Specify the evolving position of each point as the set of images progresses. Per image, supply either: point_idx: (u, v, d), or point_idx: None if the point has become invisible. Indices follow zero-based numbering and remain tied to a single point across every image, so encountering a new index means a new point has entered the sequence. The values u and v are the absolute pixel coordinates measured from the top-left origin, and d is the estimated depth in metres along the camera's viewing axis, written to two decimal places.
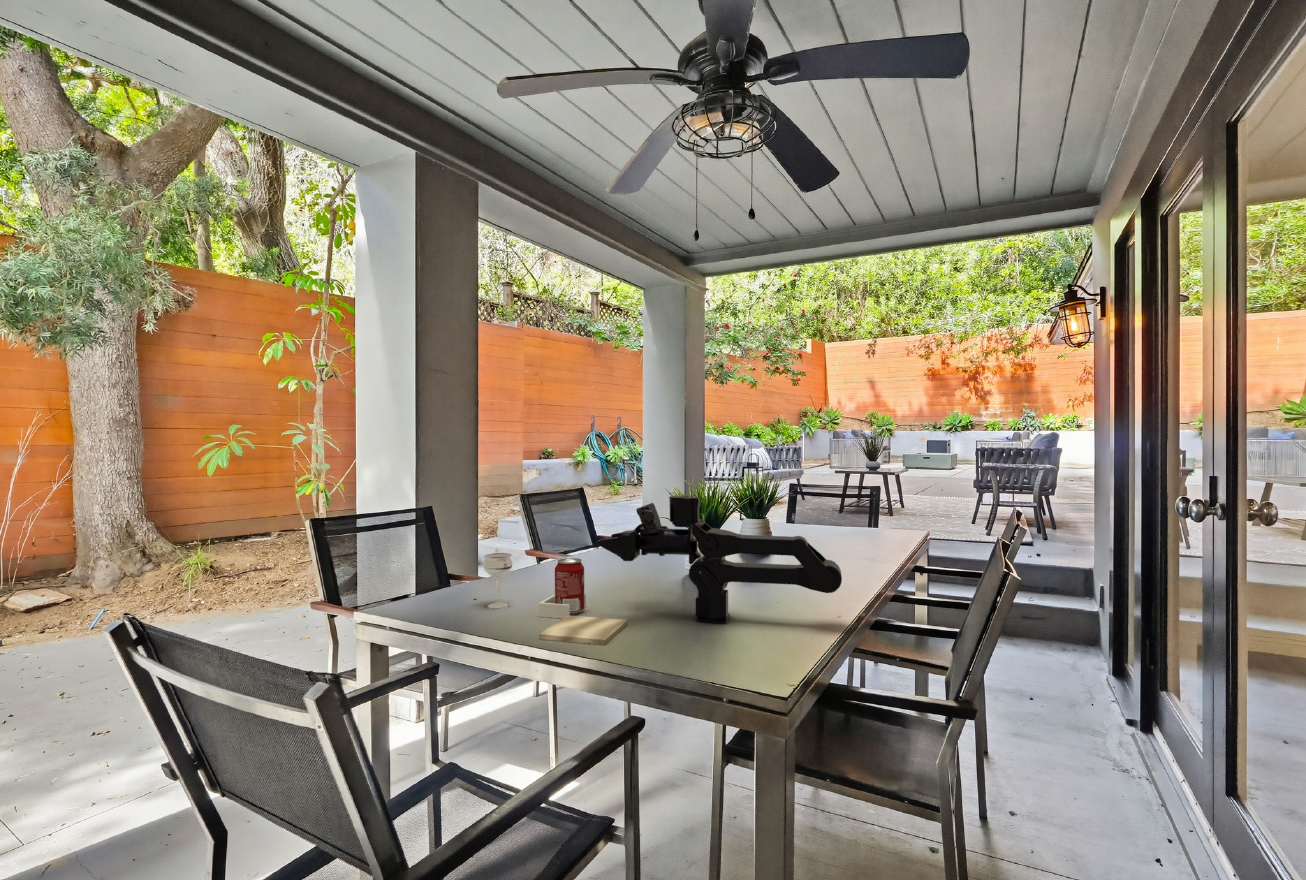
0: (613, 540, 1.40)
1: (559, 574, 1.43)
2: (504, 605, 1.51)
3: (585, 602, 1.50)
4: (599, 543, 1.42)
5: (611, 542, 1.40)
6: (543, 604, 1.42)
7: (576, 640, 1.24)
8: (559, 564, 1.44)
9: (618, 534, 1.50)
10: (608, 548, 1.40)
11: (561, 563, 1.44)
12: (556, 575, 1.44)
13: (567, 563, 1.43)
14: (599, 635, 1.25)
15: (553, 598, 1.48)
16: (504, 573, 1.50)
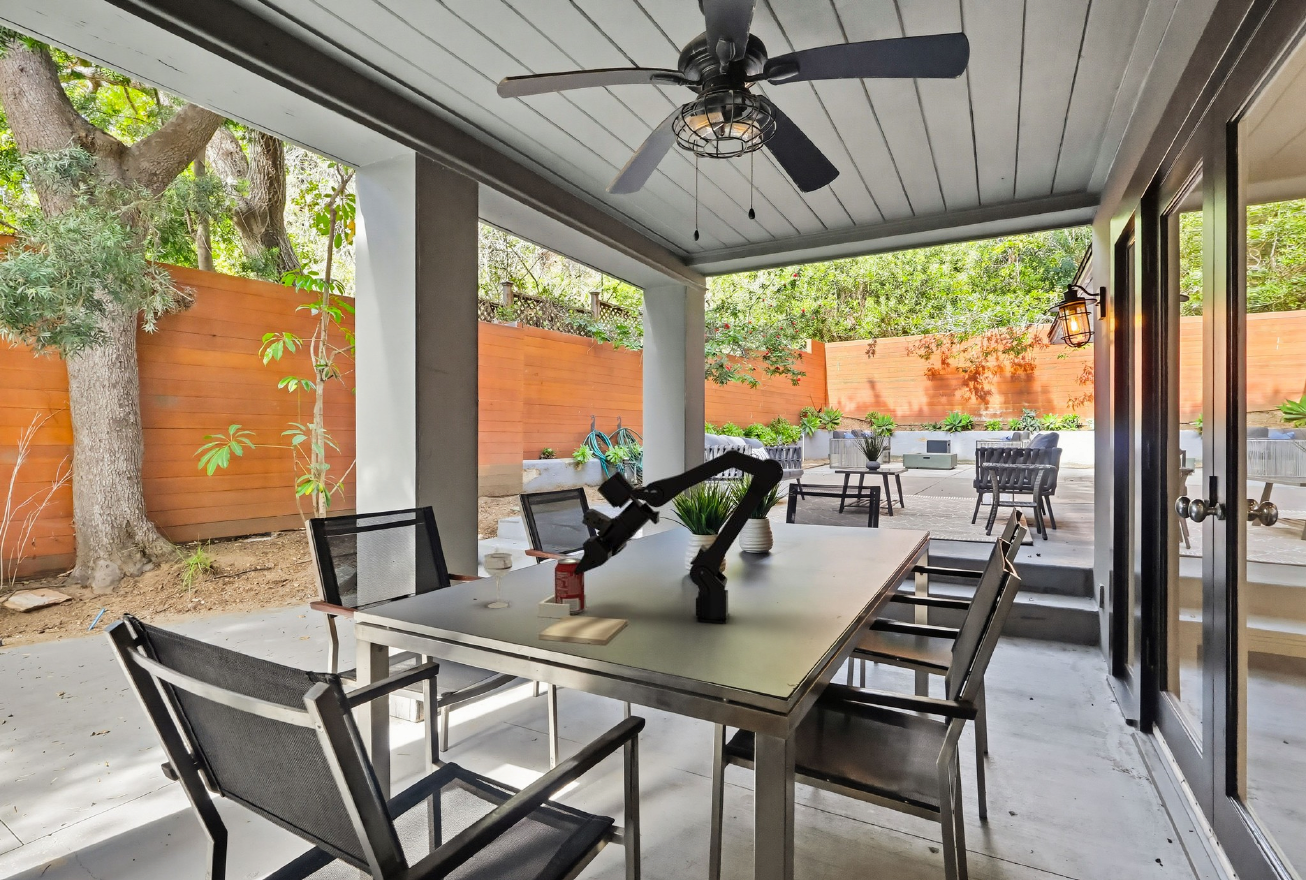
0: (583, 559, 1.39)
1: (559, 574, 1.43)
2: (504, 605, 1.51)
3: (585, 602, 1.50)
4: (576, 572, 1.40)
5: (583, 562, 1.39)
6: (543, 604, 1.42)
7: (576, 640, 1.24)
8: (559, 564, 1.44)
9: None
10: (585, 569, 1.39)
11: (561, 563, 1.44)
12: (556, 575, 1.44)
13: (567, 563, 1.43)
14: (599, 635, 1.25)
15: (553, 598, 1.48)
16: (504, 573, 1.50)
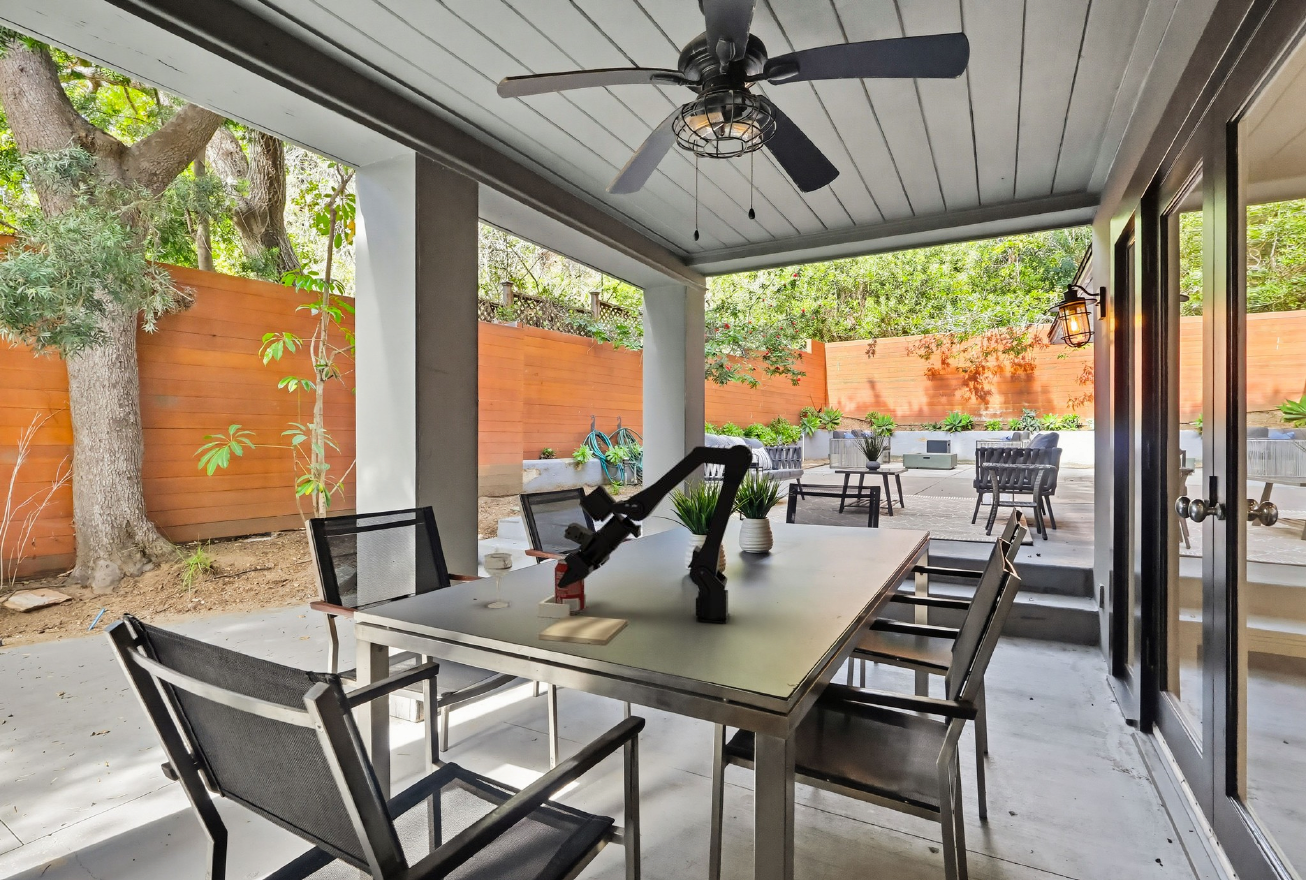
0: (566, 572, 1.41)
1: (559, 574, 1.43)
2: (504, 605, 1.51)
3: (585, 602, 1.50)
4: (560, 586, 1.42)
5: (566, 575, 1.41)
6: (543, 604, 1.42)
7: (576, 640, 1.24)
8: (559, 564, 1.44)
9: None
10: (568, 582, 1.41)
11: (561, 563, 1.44)
12: (556, 575, 1.44)
13: None
14: (599, 635, 1.25)
15: (553, 598, 1.48)
16: (504, 573, 1.50)
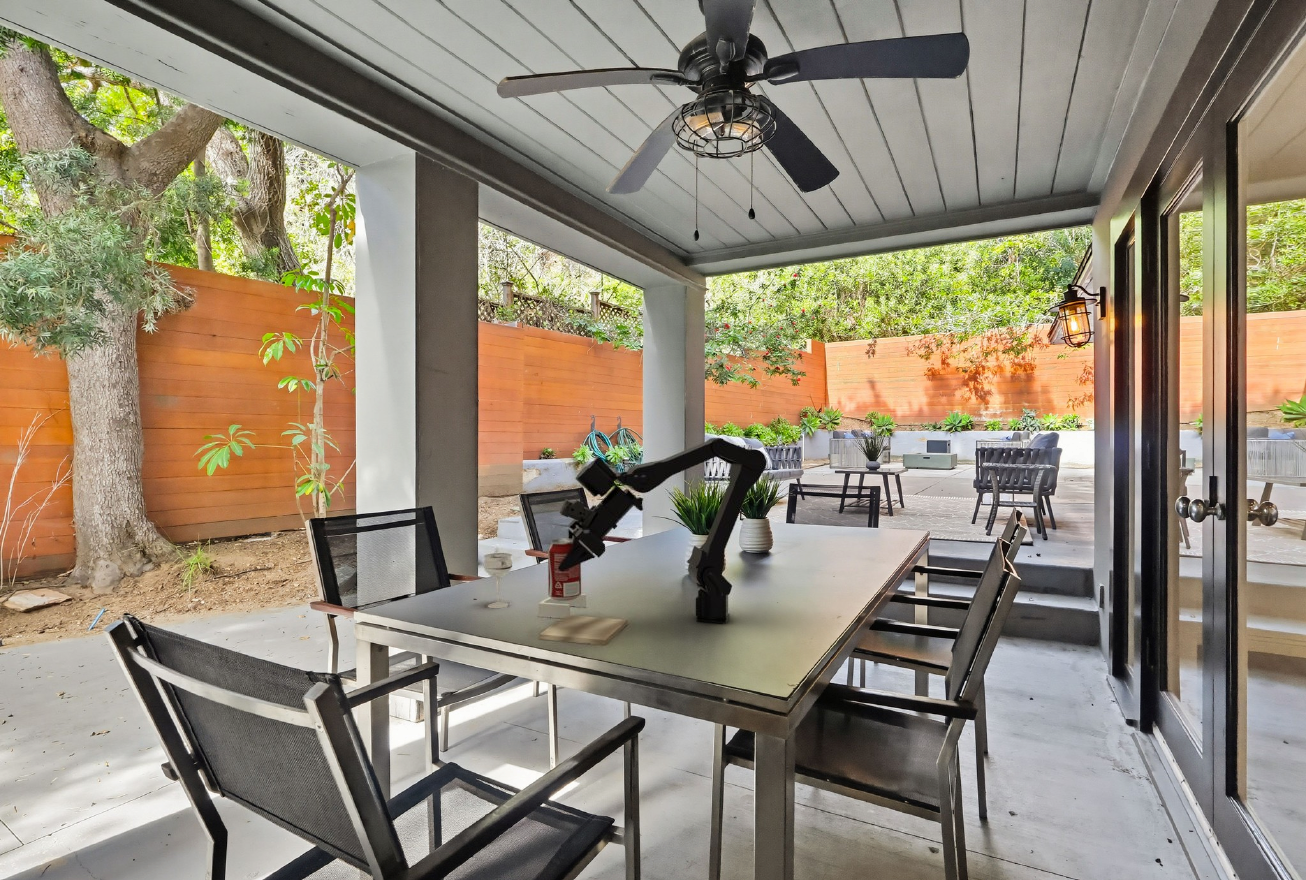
0: (571, 553, 1.28)
1: (558, 557, 1.29)
2: (504, 605, 1.51)
3: (585, 602, 1.50)
4: (561, 569, 1.28)
5: (571, 556, 1.28)
6: (543, 604, 1.42)
7: (576, 640, 1.24)
8: (556, 545, 1.30)
9: None
10: (573, 564, 1.28)
11: (559, 544, 1.29)
12: (554, 558, 1.29)
13: (567, 543, 1.30)
14: (599, 635, 1.25)
15: None
16: (504, 573, 1.50)
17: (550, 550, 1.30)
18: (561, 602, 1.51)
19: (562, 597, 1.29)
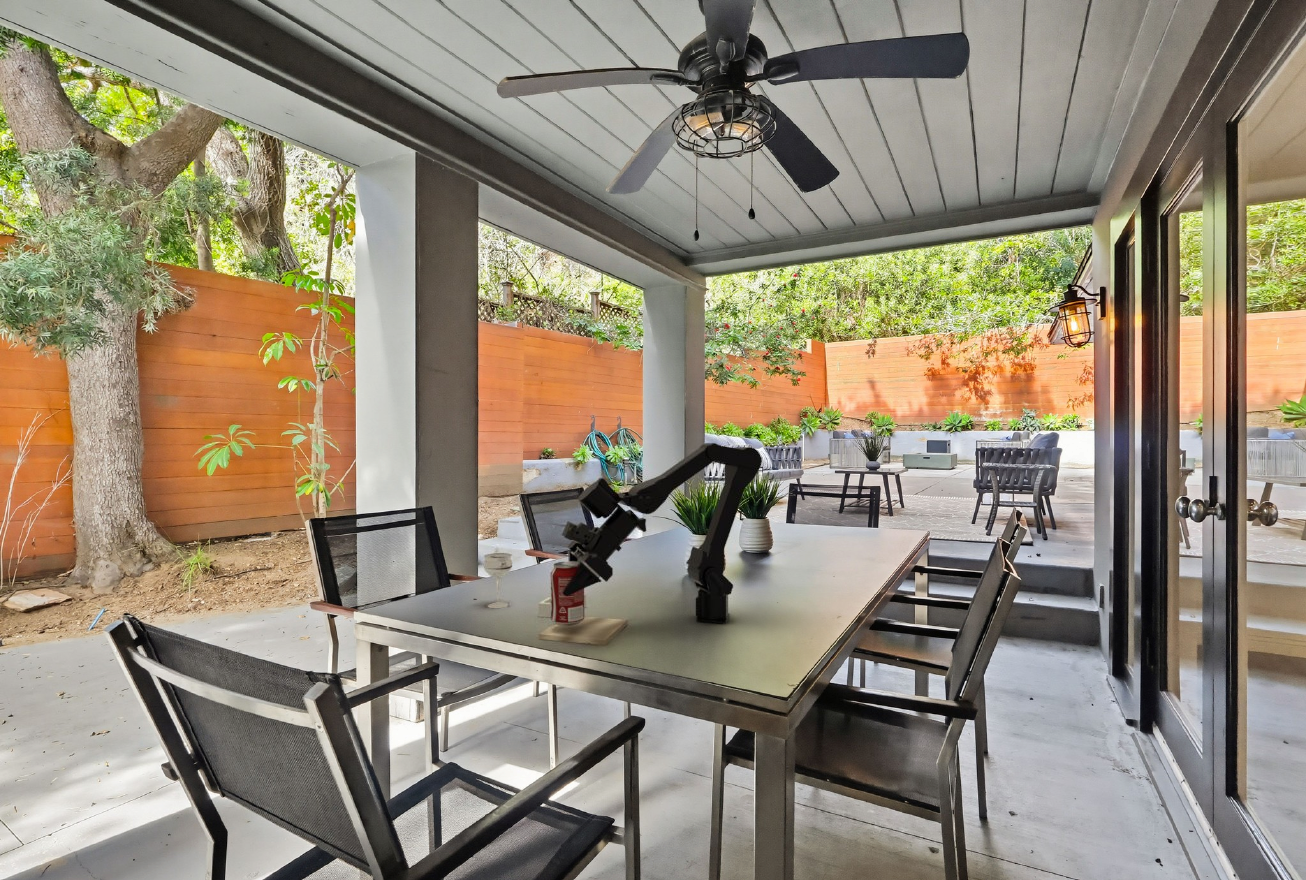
0: (577, 577, 1.25)
1: (563, 581, 1.26)
2: (504, 605, 1.51)
3: (585, 602, 1.50)
4: (566, 593, 1.25)
5: (576, 581, 1.25)
6: (543, 604, 1.42)
7: (576, 640, 1.24)
8: (560, 569, 1.27)
9: None
10: (578, 588, 1.25)
11: (563, 568, 1.27)
12: (558, 582, 1.26)
13: (571, 567, 1.27)
14: (599, 635, 1.25)
15: None
16: (504, 573, 1.50)
17: (553, 574, 1.27)
18: None
19: (567, 622, 1.26)
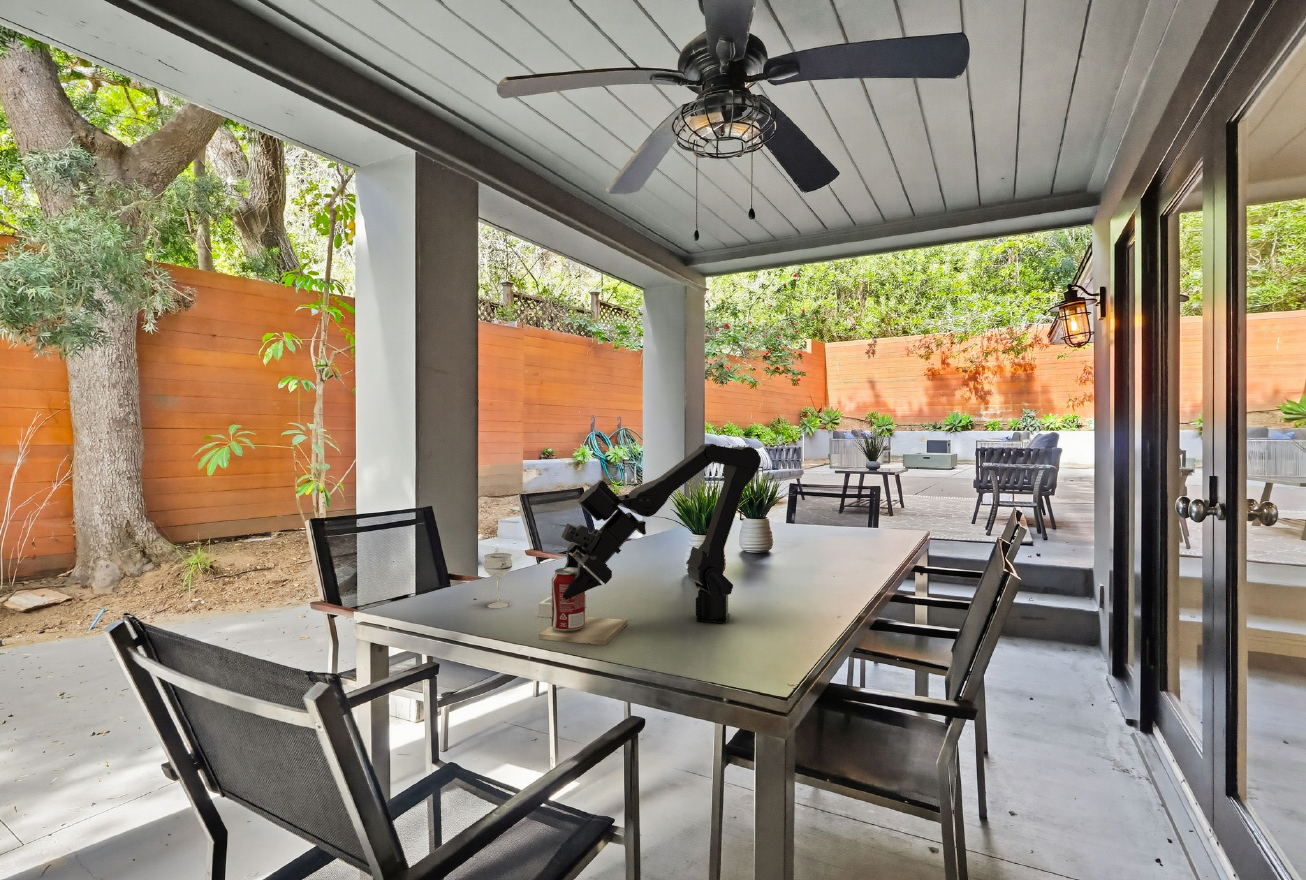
0: (577, 580, 1.24)
1: (564, 587, 1.26)
2: (504, 605, 1.51)
3: (585, 602, 1.50)
4: (566, 597, 1.24)
5: (576, 584, 1.24)
6: (543, 604, 1.42)
7: (576, 640, 1.24)
8: (561, 576, 1.27)
9: None
10: (578, 591, 1.24)
11: (565, 574, 1.27)
12: (559, 589, 1.26)
13: (572, 574, 1.27)
14: (599, 635, 1.25)
15: None
16: (504, 573, 1.50)
17: (555, 580, 1.27)
18: None
19: (567, 629, 1.26)
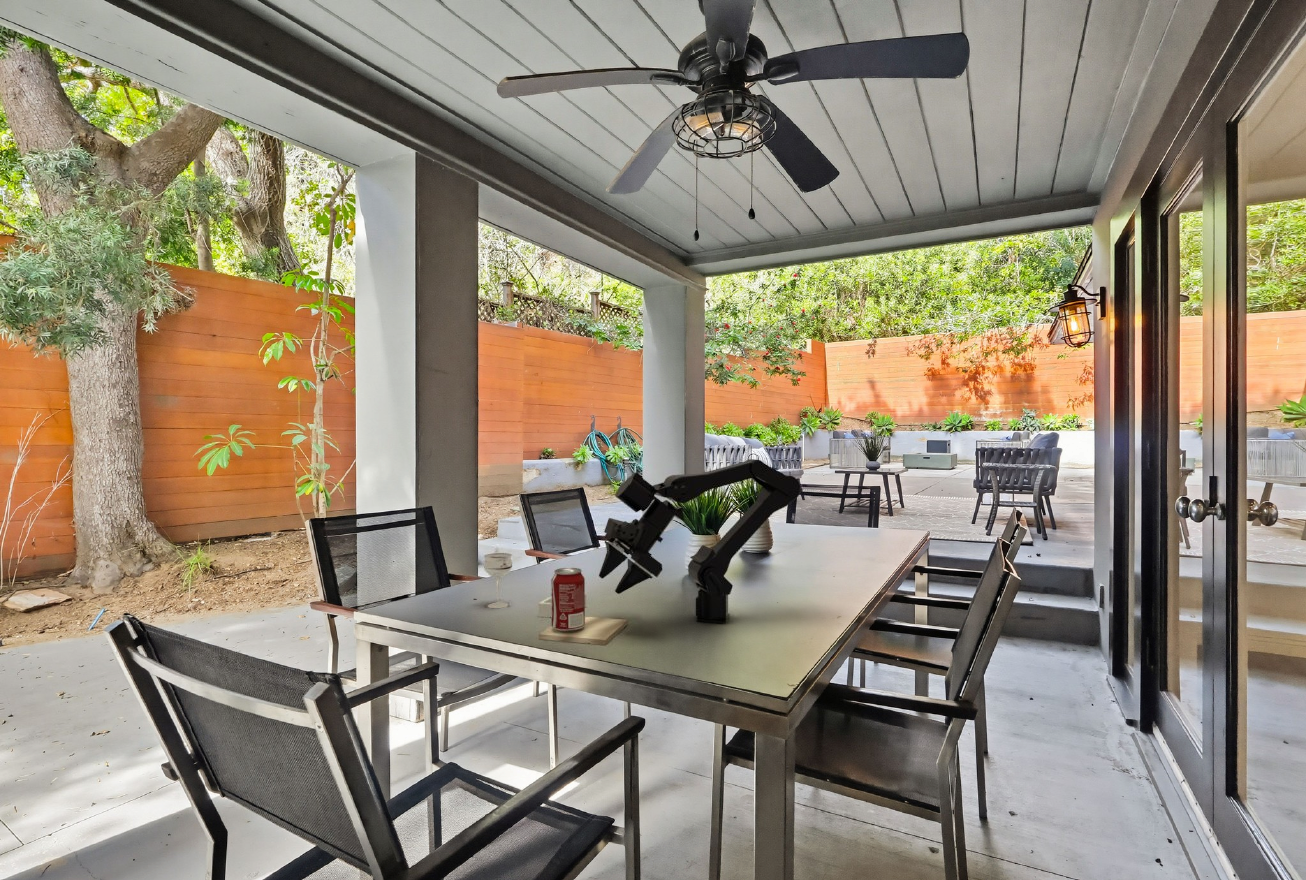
0: (628, 576, 1.28)
1: (564, 587, 1.26)
2: (504, 605, 1.51)
3: (585, 602, 1.50)
4: (619, 591, 1.29)
5: (628, 579, 1.29)
6: (543, 604, 1.42)
7: (576, 640, 1.24)
8: (561, 576, 1.27)
9: (603, 569, 1.37)
10: (630, 585, 1.29)
11: (564, 574, 1.27)
12: (558, 589, 1.26)
13: (572, 573, 1.27)
14: (599, 635, 1.25)
15: None
16: (504, 573, 1.50)
17: (554, 580, 1.27)
18: None
19: (567, 629, 1.26)
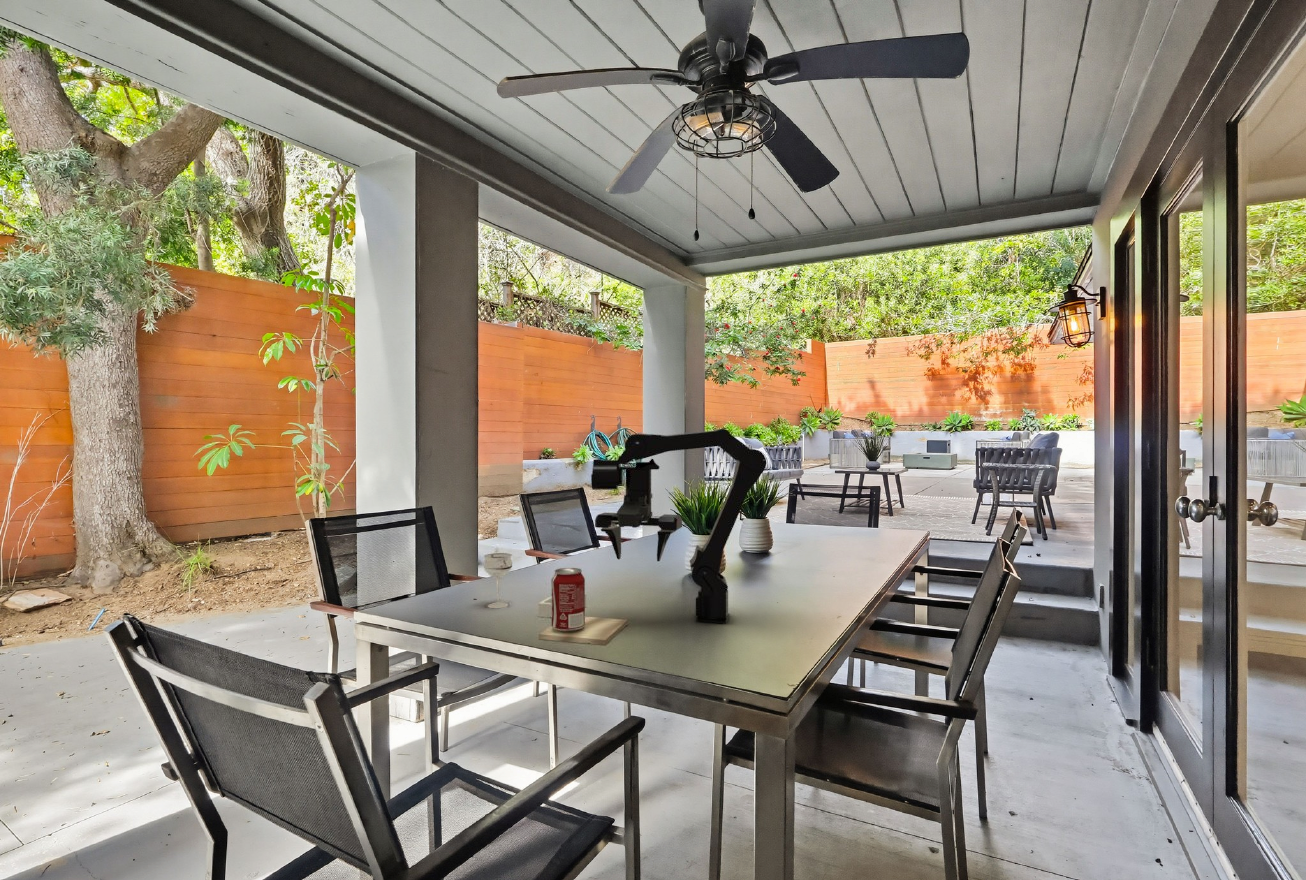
0: None
1: (564, 587, 1.26)
2: (504, 605, 1.51)
3: (585, 602, 1.50)
4: None
5: (663, 545, 1.38)
6: (543, 604, 1.42)
7: (576, 640, 1.24)
8: (561, 576, 1.27)
9: (618, 551, 1.41)
10: (664, 547, 1.40)
11: (564, 574, 1.27)
12: (558, 589, 1.26)
13: (572, 574, 1.27)
14: (599, 635, 1.25)
15: None
16: (504, 573, 1.50)
17: (554, 580, 1.27)
18: None
19: (567, 629, 1.26)
